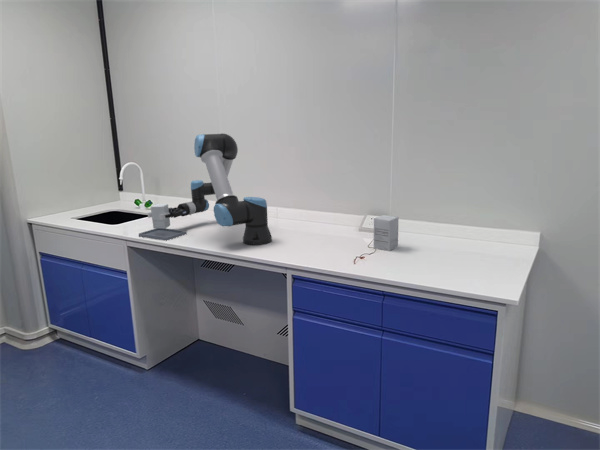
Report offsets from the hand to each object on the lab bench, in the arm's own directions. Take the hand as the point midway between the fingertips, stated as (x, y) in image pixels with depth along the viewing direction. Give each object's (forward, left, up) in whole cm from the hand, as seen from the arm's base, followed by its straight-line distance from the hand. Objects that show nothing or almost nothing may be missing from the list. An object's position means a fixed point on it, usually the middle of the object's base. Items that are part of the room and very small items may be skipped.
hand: (153, 216), depth 235 cm
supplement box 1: (+1, -4, -7) cm, 8 cm away
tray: (0, -4, -12) cm, 13 cm away
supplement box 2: (-108, -66, -12) cm, 127 cm away
